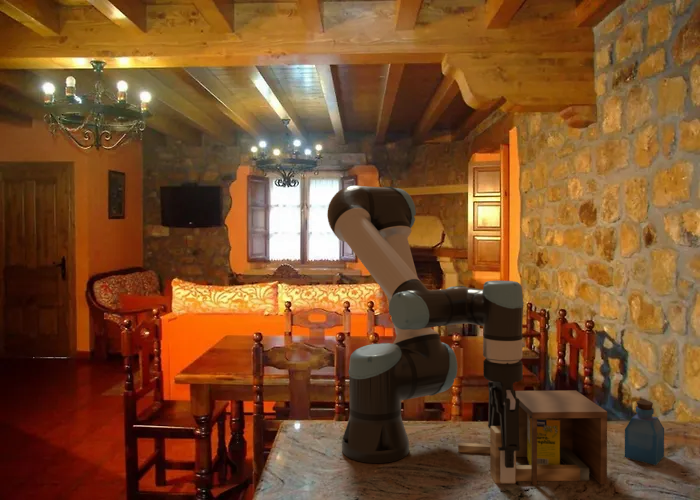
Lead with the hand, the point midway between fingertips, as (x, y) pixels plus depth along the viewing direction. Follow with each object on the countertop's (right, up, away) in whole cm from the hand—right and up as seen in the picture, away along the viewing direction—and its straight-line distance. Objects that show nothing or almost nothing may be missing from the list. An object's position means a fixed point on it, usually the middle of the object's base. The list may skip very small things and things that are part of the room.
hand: (502, 474), depth 111 cm
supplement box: (+10, -1, +6) cm, 12 cm away
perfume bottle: (+34, -1, +11) cm, 35 cm away
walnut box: (+12, -1, +5) cm, 13 cm away
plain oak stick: (0, -1, +14) cm, 14 cm away
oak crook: (+7, -1, +4) cm, 8 cm away
